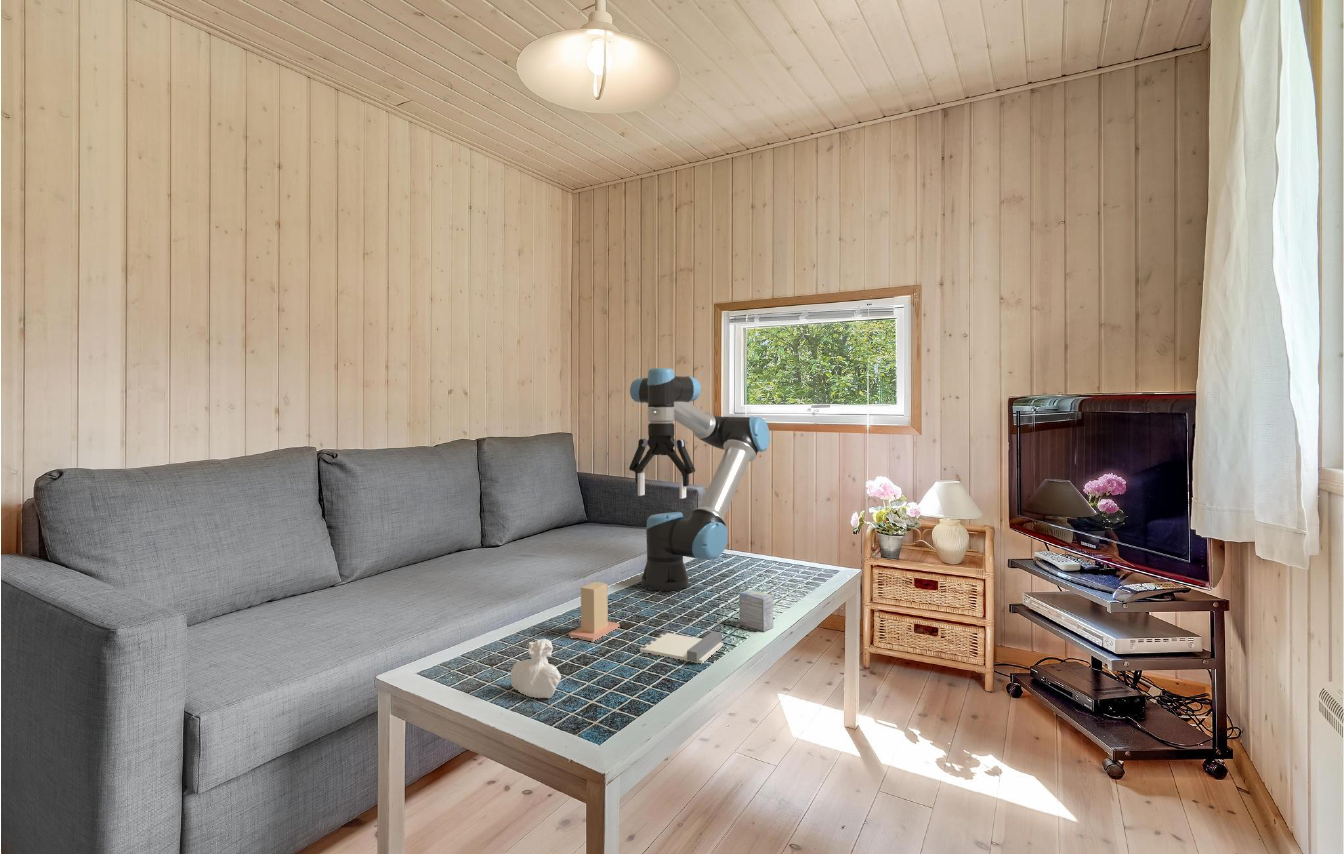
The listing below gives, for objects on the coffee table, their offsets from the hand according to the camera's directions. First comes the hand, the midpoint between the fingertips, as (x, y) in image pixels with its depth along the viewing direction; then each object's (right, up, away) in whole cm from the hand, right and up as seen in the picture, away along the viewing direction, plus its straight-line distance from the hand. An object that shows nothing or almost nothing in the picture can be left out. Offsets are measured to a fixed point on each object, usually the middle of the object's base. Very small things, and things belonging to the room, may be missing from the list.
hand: (661, 496), depth 184 cm
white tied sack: (-24, -34, -54) cm, 68 cm away
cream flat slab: (+5, -33, -32) cm, 46 cm away
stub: (-17, -32, -21) cm, 42 cm away
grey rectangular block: (+25, -32, -17) cm, 44 cm away
